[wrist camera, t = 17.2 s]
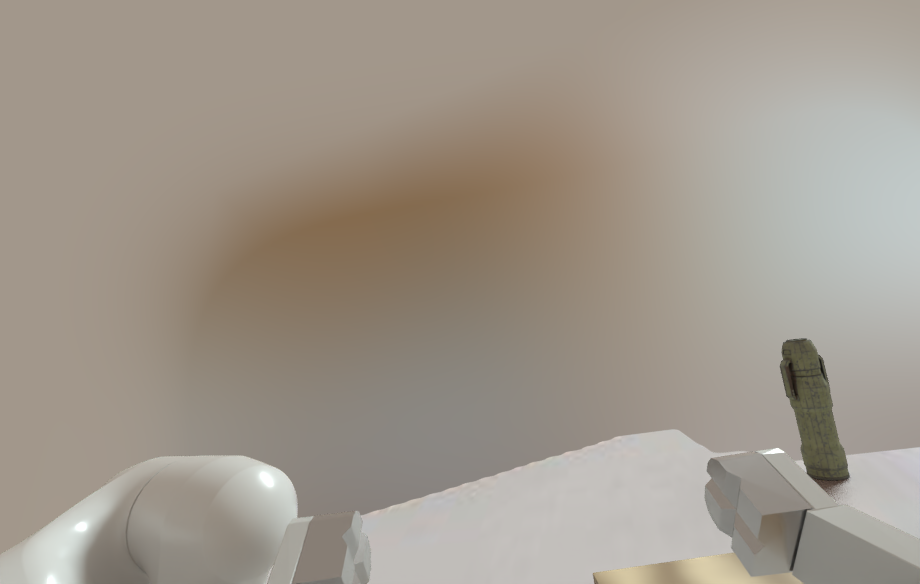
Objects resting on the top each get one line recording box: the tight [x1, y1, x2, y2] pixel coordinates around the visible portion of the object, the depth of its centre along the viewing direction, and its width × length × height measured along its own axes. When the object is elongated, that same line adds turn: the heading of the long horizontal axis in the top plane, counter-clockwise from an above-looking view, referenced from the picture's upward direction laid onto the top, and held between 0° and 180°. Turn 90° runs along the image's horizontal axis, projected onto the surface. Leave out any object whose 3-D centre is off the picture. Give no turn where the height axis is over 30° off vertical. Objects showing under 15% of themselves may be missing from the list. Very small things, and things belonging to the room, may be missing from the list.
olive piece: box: [780, 339, 850, 480], centre depth 117 cm, size 9×12×35 cm
